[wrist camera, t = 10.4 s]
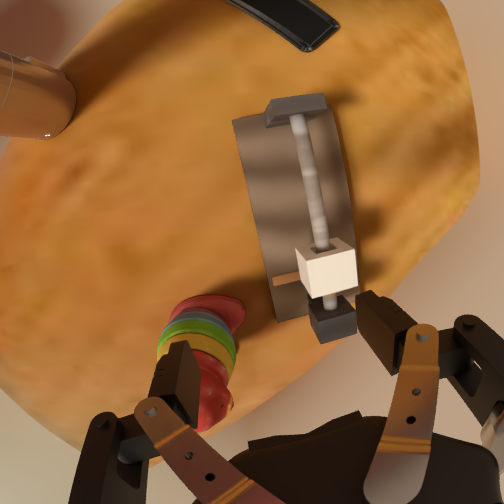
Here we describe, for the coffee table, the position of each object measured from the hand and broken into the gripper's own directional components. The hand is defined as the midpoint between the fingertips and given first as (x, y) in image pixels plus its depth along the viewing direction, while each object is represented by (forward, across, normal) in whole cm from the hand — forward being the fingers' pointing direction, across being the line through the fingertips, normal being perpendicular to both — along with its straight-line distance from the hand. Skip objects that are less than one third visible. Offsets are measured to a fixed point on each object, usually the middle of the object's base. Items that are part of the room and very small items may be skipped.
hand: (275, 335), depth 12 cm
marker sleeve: (+18, -7, +5) cm, 20 cm away
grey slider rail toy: (+23, -8, 0) cm, 24 cm away
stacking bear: (+23, +9, +12) cm, 28 cm away
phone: (+24, -12, -28) cm, 39 cm away
